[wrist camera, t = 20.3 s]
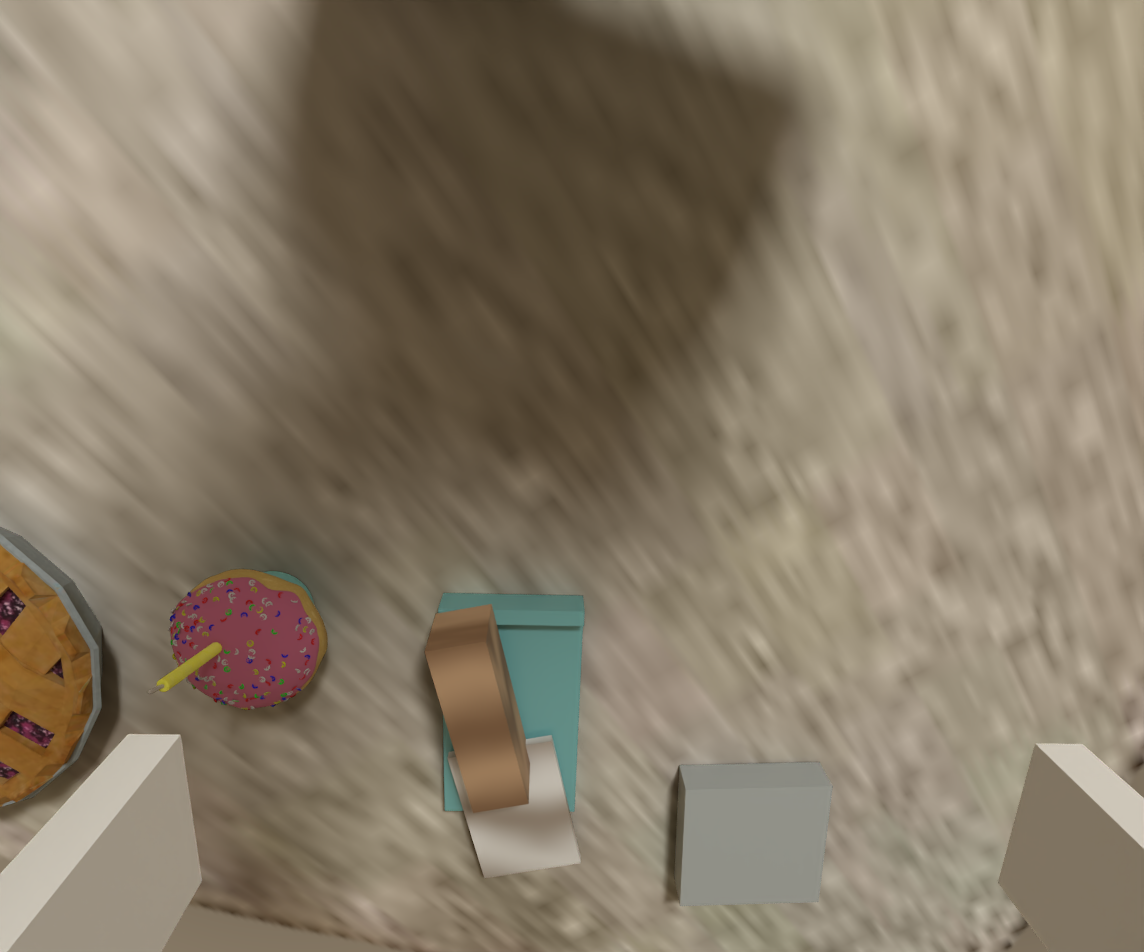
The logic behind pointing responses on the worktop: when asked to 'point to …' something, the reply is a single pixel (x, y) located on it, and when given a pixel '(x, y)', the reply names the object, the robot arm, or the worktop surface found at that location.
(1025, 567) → the worktop surface
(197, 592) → the cupcake
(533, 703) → the rest
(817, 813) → the tile
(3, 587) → the pie
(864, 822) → the worktop surface
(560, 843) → the turner
